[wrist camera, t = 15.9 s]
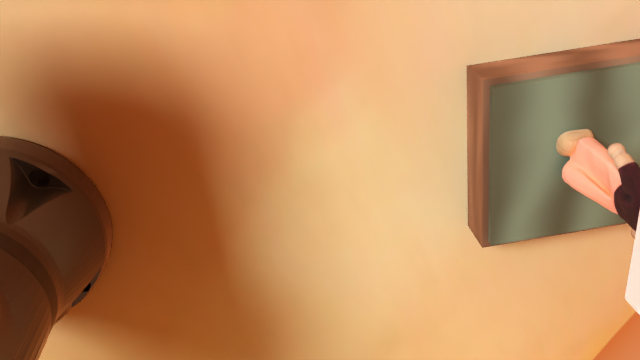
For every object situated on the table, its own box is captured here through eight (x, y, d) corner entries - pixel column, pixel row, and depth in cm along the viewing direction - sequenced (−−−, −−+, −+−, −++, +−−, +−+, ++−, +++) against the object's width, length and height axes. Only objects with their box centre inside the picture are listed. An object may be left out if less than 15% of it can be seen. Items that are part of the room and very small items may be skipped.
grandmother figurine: (533, 138, 42) (638, 233, 31) (580, 106, 41) (705, 190, 30) (580, 208, 45) (689, 316, 34) (624, 178, 44) (751, 280, 33)
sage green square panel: (467, 225, 50) (484, 251, 46) (466, 65, 43) (486, 82, 40) (627, 198, 50) (656, 222, 47) (649, 37, 44) (685, 51, 40)
